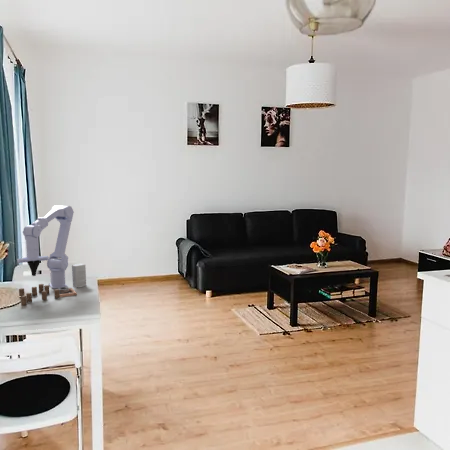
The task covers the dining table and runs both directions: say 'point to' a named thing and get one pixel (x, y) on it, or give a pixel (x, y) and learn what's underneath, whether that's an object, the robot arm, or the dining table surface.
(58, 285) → the robot arm
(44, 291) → the walnut spacers
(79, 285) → the skincare box
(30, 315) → the dining table surface
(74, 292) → the parts bay
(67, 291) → the steel nut
